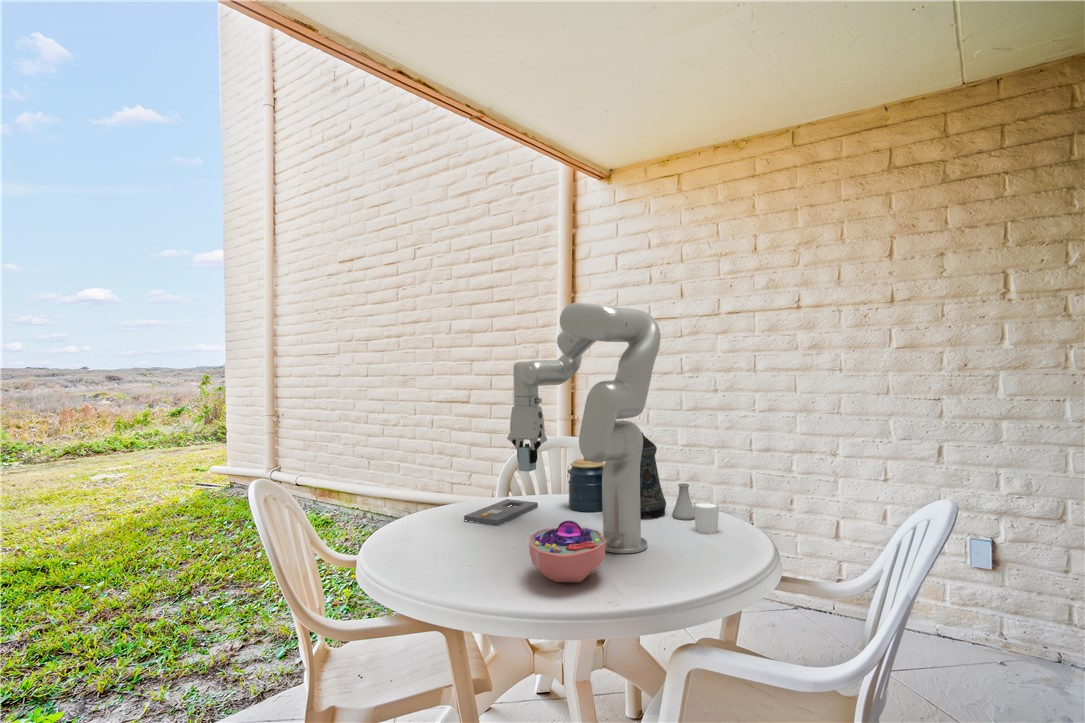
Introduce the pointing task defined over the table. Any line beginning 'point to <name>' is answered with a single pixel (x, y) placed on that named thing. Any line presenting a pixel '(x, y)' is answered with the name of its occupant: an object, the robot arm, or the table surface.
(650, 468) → the beer stein
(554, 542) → the cell model
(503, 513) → the outlet plate
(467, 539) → the table surface
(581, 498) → the canister
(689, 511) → the flask
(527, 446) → the block
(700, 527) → the grey cylinder
